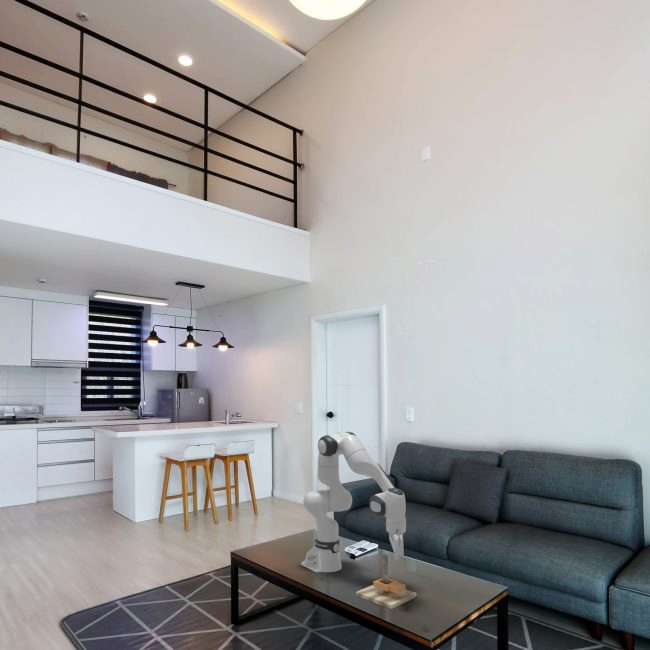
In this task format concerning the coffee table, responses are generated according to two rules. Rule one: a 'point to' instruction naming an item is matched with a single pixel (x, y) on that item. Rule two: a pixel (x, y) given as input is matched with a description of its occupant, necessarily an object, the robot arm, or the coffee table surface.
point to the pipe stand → (385, 592)
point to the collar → (390, 585)
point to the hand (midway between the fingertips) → (396, 559)
